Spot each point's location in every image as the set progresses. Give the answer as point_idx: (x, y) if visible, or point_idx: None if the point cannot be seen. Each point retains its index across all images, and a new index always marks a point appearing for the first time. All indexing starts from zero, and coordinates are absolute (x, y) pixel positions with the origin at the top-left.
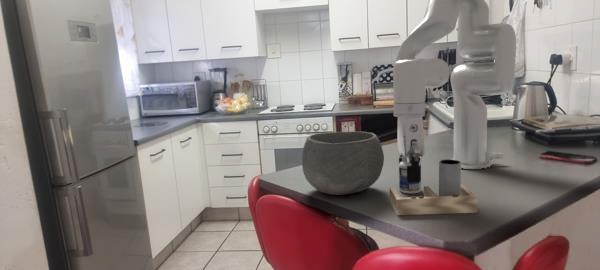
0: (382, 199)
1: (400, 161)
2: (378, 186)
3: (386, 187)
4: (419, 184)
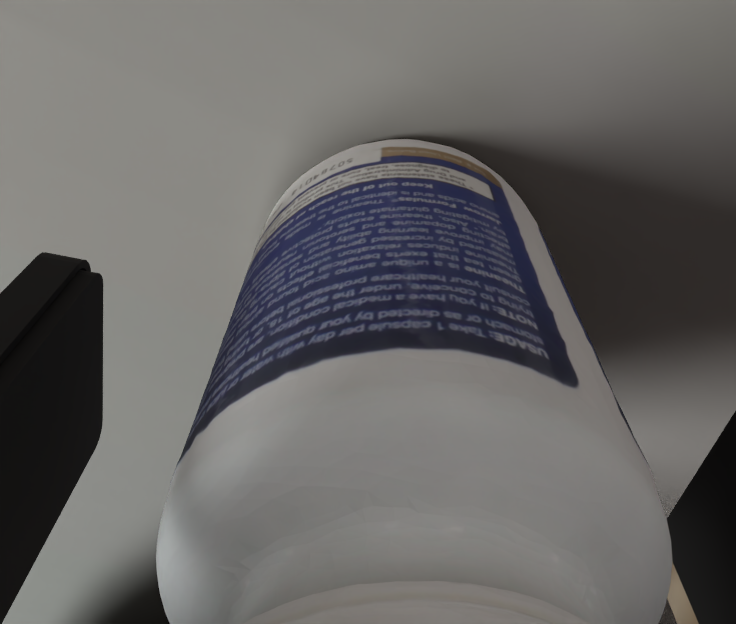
0: None
1: (3, 603)
2: (123, 490)
3: (177, 439)
4: (544, 249)
